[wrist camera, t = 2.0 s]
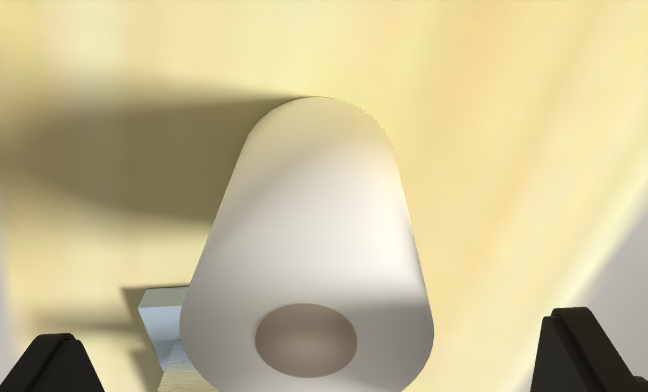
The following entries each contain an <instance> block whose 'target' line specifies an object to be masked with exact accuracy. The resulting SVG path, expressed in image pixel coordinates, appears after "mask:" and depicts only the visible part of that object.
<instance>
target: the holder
mask: <svg viewBox="0 0 648 392" xmlns="http://www.w3.org/2000/svg"><path fill="white" fill-rule="evenodd" d="M188 288H189V287H175V288H158V289H146V291H145V293H144V296H143V298H142V300H141V302H140V304H139V306H138V311H139V313H140V316H141V318H142V321H143V323H144V326H145V328H146V331H147V333H148V336H149V338H150V341H151V343H152V346H153V348H154V351H155V353H156V356H157V358H158V361H159V363H160V366H161V368H162V371H163V373H164V371H165V368H166V366H167V363H168V360H169V358H170V355H171V352H172V349H173V347H174V344H175V341H176V339H181V337H180V329H179V320H180V311H181V308H182V305H183V301H184V298H185V296H186V293H187V291H188Z"/></svg>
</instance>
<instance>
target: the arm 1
mask: <svg viewBox="0 0 648 392" xmlns="http://www.w3.org/2000/svg"><path fill="white" fill-rule="evenodd" d="M157 392H220V391H219V390H217V389H216V388H215V387H213V386H212V385H211V384H210V383H209V382H208V381H206V380H205V379H204V378H203V377H202V376H201V375H200V373H199V372H198V371H197V370H196V369H195V368H194V366H193V364H192V363H191V361H190V360H189V358H188V357H187V354H186V352H185V350H184V348H183V345H182V341H181V339H176V341H175V344H174V347H173V349H172V352H171V355H170V358H169V360H168V363H167V366H166V368H165V371H164V374H163V377H162V379H161V382H160V385H159V387H158V390H157Z"/></svg>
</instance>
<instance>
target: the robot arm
mask: <svg viewBox="0 0 648 392" xmlns="http://www.w3.org/2000/svg"><path fill="white" fill-rule="evenodd" d="M0 392H105V391H104V389H103V387H102V385H101V382H100V380H99V378H98V376H97V374H96V372H95V370H94V367H93V365H92V363H91V361H90V359H89V357H88V355H87V353H86V350H85V348H84V346H83V344H82V343H81V341H79V340H76V339H75V338H74V336H73V335H72V334H70V333H59V334H41V335H39V336H37V337H36V338H35V339H34V340H33V341H32V343H31V344H30V345H29V347H28V348H27V349H26V351H25V352H24V354H23V355H22V356H21V358H20V359H19V360H18V362H17V363H16V364H15V366H14V367H13V368H12V370H11V371H10V373H9V374H8V375H7V377H6V378H5V379H4V381H3V382H2V384H1V385H0ZM530 392H648V381H647V380H645V379H644V378H643V377H639V376H633V375H632V373H631V372H630V371H629V369H628V367H627V366H626V364H625V363H624V361H623V360H622V358H621V356H620V355H619V353H618V352H617V350H616V349H615V347H614V346H613V344H612V343H611V341H610V340H609V338H608V337H607V335H606V334H605V332H604V330H603V329H602V327H601V326H600V324H599V323H598V321H597V320H596V318H595V317H594V315H593V314H592V312H591V311H590V310H589V309H588V308H587V307H572V308H555V309H553V311H552V313H551V316H546V317H544V318H543V321H542V326H541V332H540V338H539V344H538V349H537V355H536V361H535V367H534V373H533V379H532V385H531V390H530Z"/></svg>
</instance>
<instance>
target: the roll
mask: <svg viewBox="0 0 648 392" xmlns="http://www.w3.org/2000/svg"><path fill="white" fill-rule="evenodd" d="M179 329H180V337H181V341H182V345H183V348H184V350H185V352H186V354H187V357H188V358H189V360H190V361H191V363H192V364H193V366H194V368H195V369H196V370H197V371H198V372H199V373H200V375H201V376H202V377H203V378H204V379H205V380H206V381H208V382H209V383H210V384H211V385H212V386H213V387H215V388H216V389H217V390H219V391H220V392H401V391H402V390H403V389H405V388H406V387H407V386H408V385H409V384H410V383H411V382H412V381H413V380H414V379H415V378H416V377H417V376H418V375H419V373H420V372H421V370H422V369H423V368H424V366H425V364H426V362H427V360H428V358H429V356H430V353H431V349H432V346H433V339H434V325H433V319H432V314H431V310H430V306H429V301H428V297H427V292H426V288H425V284H424V279H423V275H422V271H421V266H420V262H419V258H418V253H417V249H416V244H415V240H414V236H413V231H412V227H411V223H410V218H409V214H408V209H407V205H406V201H405V196H404V192H403V188H402V183H401V179H400V174H399V170H398V166H397V161H396V157H395V153H394V149H393V146H392V144H391V141H390V139H389V137H388V135H387V134H386V132H385V130H384V129H383V128H382V127H381V125H380V124H379V123H378V122H377V121H376V120H375V119H374V118H373V117H372V116H370V115H369V114H368V113H366V112H365V111H363V110H362V109H360V108H358V107H356V106H354V105H353V104H350V103H347V102H345V101H342V100H337V99H333V98H325V97H308V98H301V99H296V100H293V101H289V102H287V103H284V104H282V105H280V106H278V107H276V108H274V109H273V110H271V111H269V112H268V113H267V114H266V115H264V116H263V117H262V118H261V119H260V120H259V121H258V122H257V123H256V124H255V125H254V127H253V128H252V130H251V131H250V132H249V134H248V136H247V138H246V140H245V143H244V145H243V148H242V150H241V153H240V156H239V158H238V161H237V163H236V166H235V169H234V171H233V174H232V176H231V179H230V182H229V184H228V187H227V189H226V192H225V195H224V197H223V200H222V202H221V205H220V208H219V210H218V213H217V215H216V218H215V221H214V223H213V226H212V228H211V231H210V234H209V236H208V239H207V241H206V244H205V247H204V249H203V252H202V254H201V257H200V259H199V262H198V265H197V267H196V270H195V272H194V275H193V278H192V280H191V283H190V285H189V288H188V291H187V293H186V296H185V298H184V301H183V305H182V308H181V311H180V320H179Z"/></svg>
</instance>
